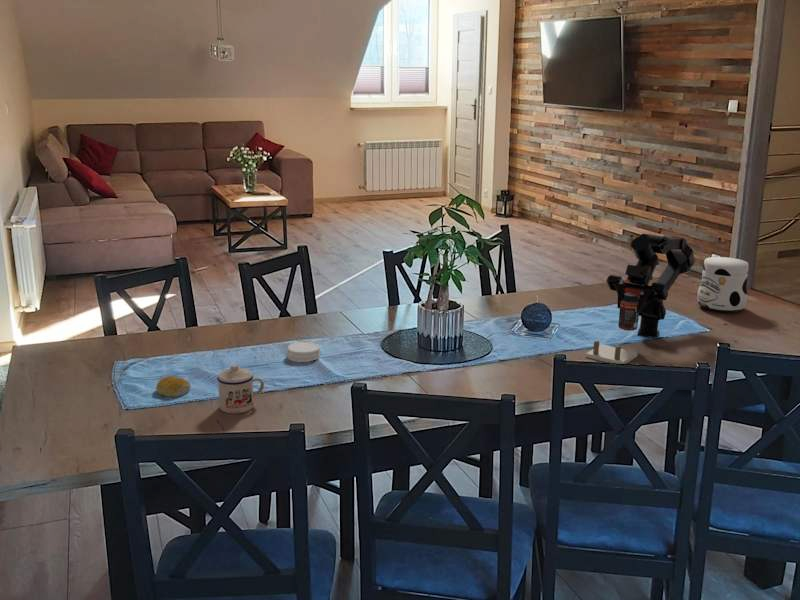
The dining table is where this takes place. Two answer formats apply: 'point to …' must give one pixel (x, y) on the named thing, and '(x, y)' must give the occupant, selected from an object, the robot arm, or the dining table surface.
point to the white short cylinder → (303, 352)
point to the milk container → (723, 284)
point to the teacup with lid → (237, 390)
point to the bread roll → (172, 386)
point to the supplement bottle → (628, 312)
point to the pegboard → (610, 353)
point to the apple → (632, 290)
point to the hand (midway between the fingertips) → (627, 309)
